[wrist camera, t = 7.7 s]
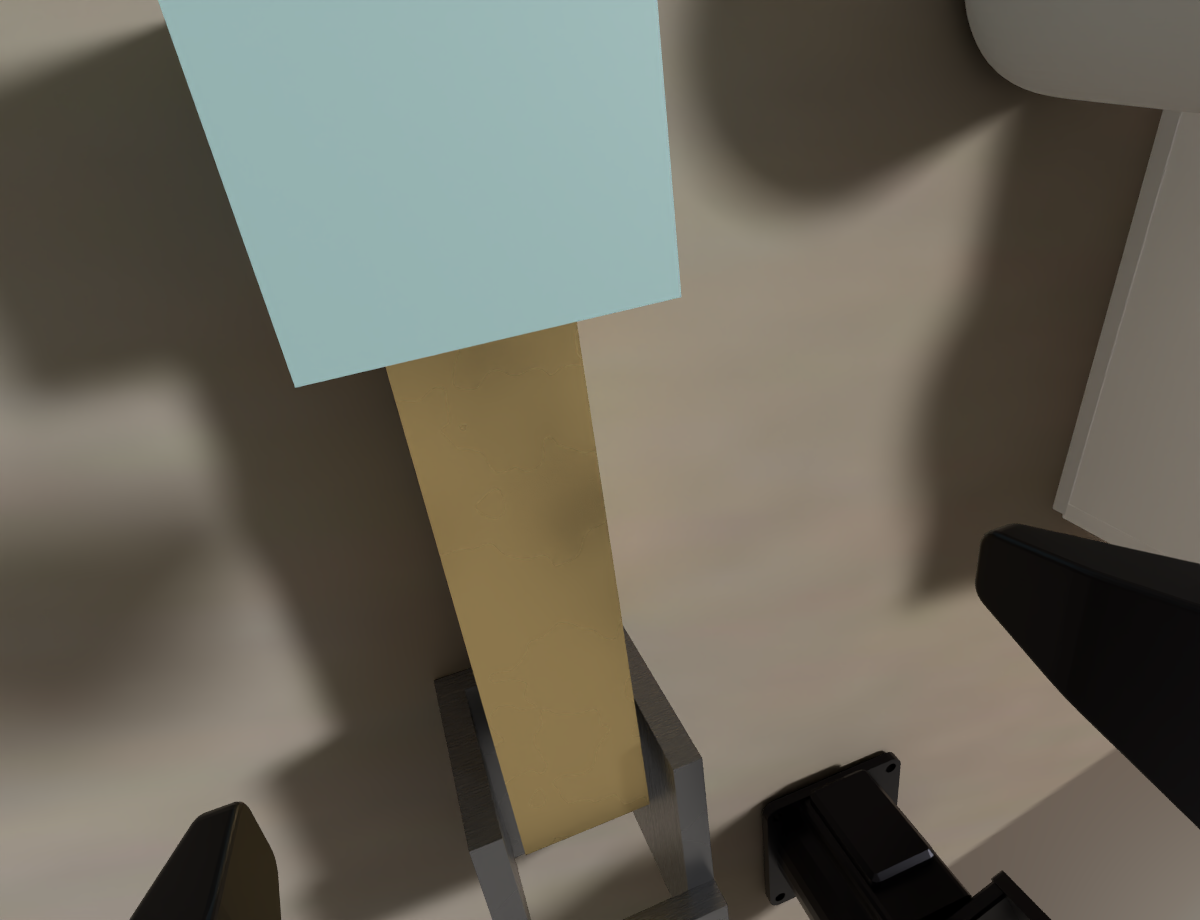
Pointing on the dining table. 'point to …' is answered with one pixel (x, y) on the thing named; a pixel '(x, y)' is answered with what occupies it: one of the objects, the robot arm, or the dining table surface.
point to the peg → (530, 571)
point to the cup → (1095, 49)
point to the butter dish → (1147, 371)
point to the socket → (435, 166)
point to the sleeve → (665, 823)
